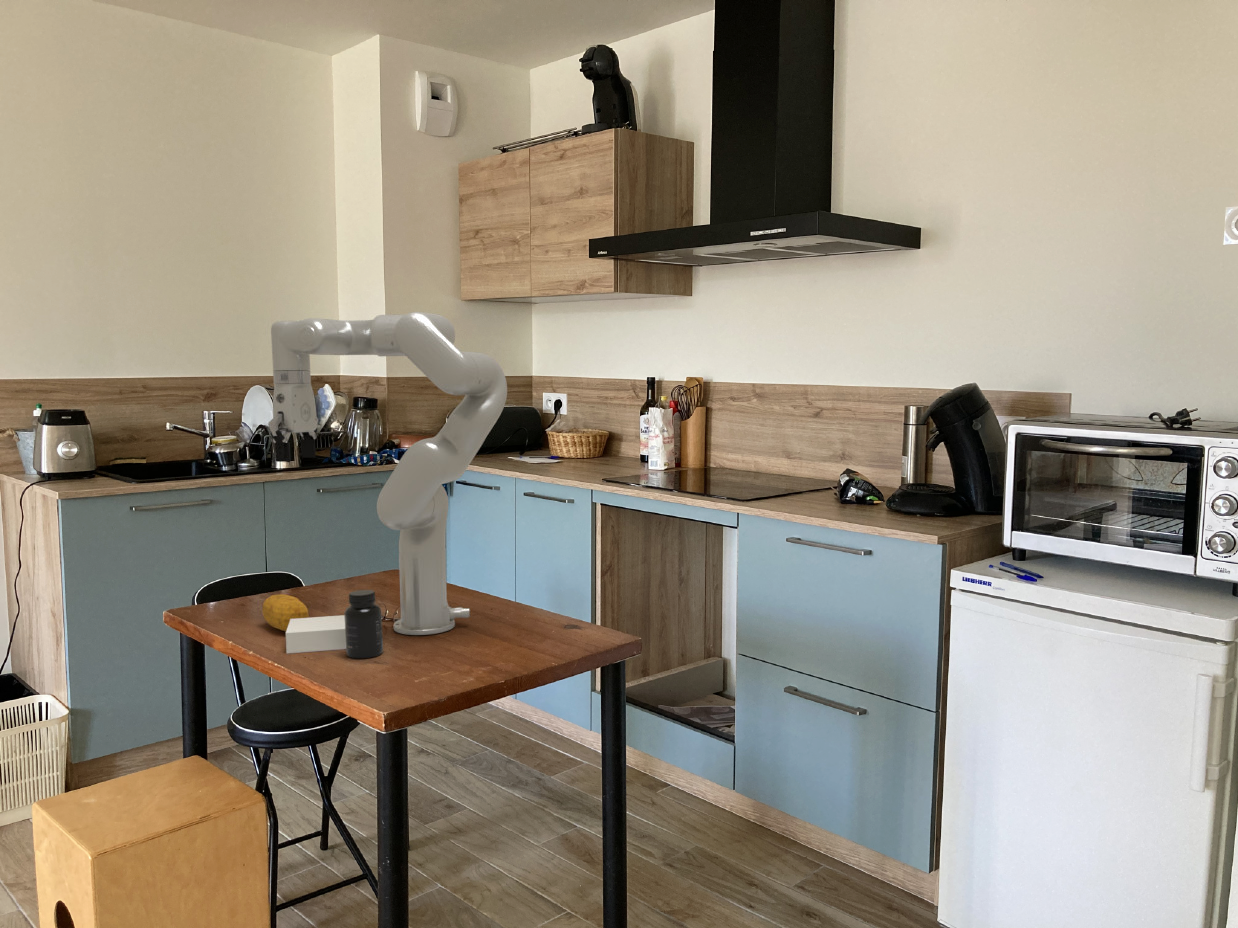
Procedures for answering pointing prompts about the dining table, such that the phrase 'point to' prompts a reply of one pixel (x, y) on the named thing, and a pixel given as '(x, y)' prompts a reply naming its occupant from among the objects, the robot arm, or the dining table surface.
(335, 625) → the stand
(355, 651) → the supplement bottle
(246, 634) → the dining table surface
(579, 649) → the dining table surface
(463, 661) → the dining table surface
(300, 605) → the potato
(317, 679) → the dining table surface
